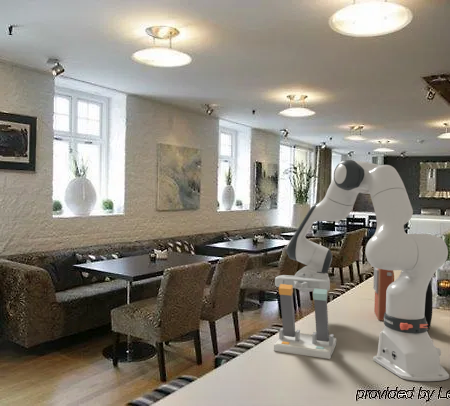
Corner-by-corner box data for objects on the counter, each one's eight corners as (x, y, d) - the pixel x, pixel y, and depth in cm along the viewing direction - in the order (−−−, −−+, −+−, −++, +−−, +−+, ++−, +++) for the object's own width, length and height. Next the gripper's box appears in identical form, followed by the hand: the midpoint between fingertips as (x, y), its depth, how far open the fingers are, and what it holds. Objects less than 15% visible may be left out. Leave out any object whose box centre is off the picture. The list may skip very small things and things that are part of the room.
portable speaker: (405, 325, 176) (406, 275, 176) (431, 328, 172) (433, 277, 172) (404, 331, 168) (405, 279, 168) (432, 335, 165) (433, 281, 164)
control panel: (388, 312, 195) (394, 322, 180) (371, 311, 196) (376, 321, 181) (390, 262, 194) (395, 268, 179) (372, 262, 195) (377, 267, 181)
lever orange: (284, 332, 153) (280, 283, 146) (296, 334, 152) (292, 285, 145) (283, 337, 151) (278, 288, 144) (294, 338, 150) (291, 289, 143)
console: (284, 336, 160) (285, 322, 160) (336, 343, 154) (336, 329, 153) (273, 350, 146) (274, 335, 146) (329, 359, 140) (330, 342, 139)
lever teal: (317, 336, 150) (314, 288, 141) (329, 338, 148) (327, 289, 140) (316, 341, 148) (312, 293, 139) (328, 343, 146) (326, 294, 138)
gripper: (279, 270, 179) (270, 275, 166) (332, 273, 171) (327, 279, 158) (279, 286, 179) (270, 292, 166) (332, 290, 171) (326, 297, 158)
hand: (298, 286), depth 162 cm, fingers closed
